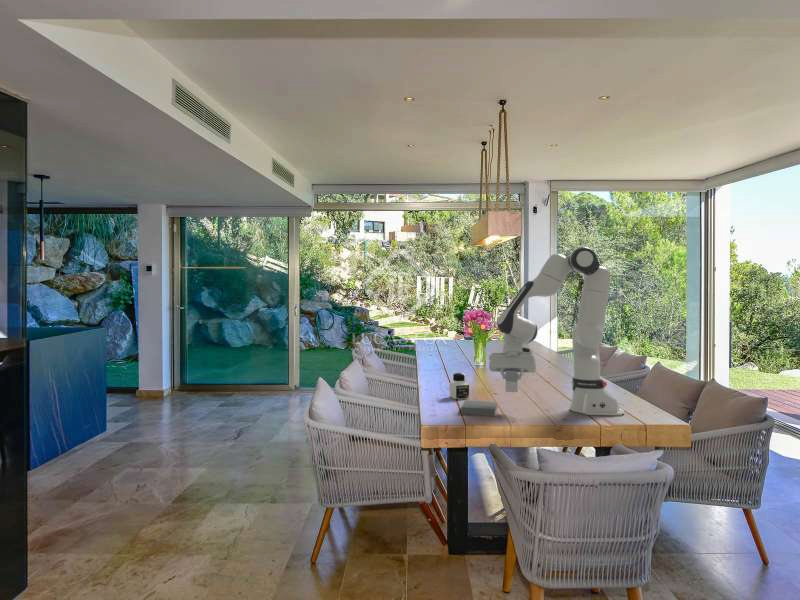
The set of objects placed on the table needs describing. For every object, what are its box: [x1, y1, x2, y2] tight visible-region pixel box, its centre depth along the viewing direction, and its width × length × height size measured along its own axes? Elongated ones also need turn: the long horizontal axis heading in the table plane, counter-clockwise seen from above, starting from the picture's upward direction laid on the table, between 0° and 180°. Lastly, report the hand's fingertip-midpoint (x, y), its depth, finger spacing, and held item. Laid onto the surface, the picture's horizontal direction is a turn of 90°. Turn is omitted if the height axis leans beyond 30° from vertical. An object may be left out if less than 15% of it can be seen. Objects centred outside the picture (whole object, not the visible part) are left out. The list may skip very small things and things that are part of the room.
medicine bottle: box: [449, 372, 470, 400], centre depth 262 cm, size 7×7×12 cm
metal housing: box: [505, 369, 519, 393], centre depth 233 cm, size 5×5×9 cm
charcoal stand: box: [460, 399, 498, 417], centre depth 234 cm, size 14×14×3 cm
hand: (511, 378), depth 233 cm, fingers closed on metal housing, 5 cm apart
